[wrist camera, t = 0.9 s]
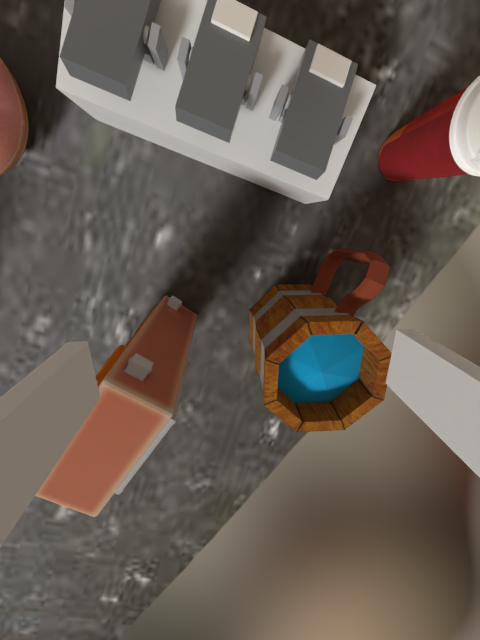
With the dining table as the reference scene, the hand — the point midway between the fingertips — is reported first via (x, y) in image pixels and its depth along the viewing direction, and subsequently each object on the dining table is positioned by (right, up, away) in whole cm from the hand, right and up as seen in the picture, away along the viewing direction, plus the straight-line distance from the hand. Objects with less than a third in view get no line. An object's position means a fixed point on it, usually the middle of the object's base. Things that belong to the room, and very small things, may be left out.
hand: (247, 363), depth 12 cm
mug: (+9, +4, +28) cm, 30 cm away
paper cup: (+20, +22, +22) cm, 37 cm away
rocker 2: (-2, +21, +9) cm, 23 cm away
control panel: (-12, -1, +29) cm, 31 cm away
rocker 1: (-9, +24, +8) cm, 27 cm away
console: (-2, +25, +19) cm, 32 cm away
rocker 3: (+6, +19, +11) cm, 22 cm away
